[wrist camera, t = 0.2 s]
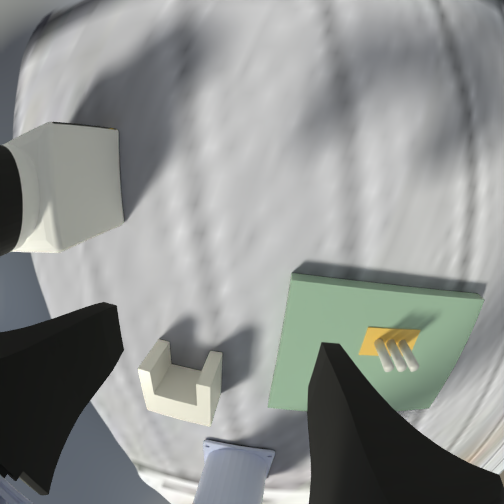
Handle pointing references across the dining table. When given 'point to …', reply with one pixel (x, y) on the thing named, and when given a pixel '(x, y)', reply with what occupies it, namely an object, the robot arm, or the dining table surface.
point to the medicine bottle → (59, 187)
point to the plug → (181, 386)
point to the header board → (373, 337)
